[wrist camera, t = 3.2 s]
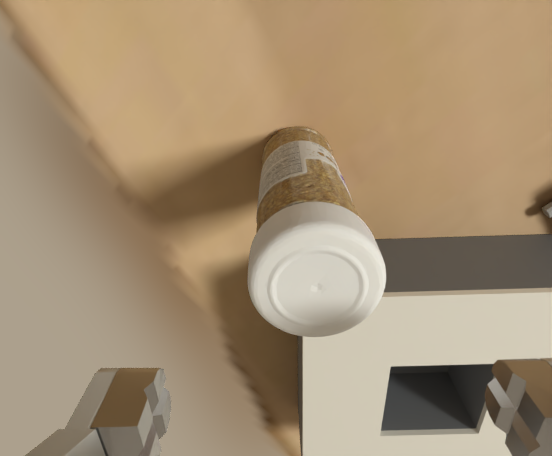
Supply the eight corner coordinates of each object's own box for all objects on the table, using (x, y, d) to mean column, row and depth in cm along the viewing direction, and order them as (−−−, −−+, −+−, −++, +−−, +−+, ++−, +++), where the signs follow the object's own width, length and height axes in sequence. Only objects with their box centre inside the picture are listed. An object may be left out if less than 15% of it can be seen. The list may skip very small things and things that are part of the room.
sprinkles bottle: (344, 170, 24) (413, 307, 12) (284, 205, 25) (293, 361, 13) (309, 108, 22) (348, 199, 10) (246, 148, 23) (216, 272, 12)
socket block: (296, 241, 27) (303, 299, 21) (552, 234, 26) (628, 290, 21) (298, 408, 35) (302, 481, 29) (491, 403, 35) (534, 476, 29)
